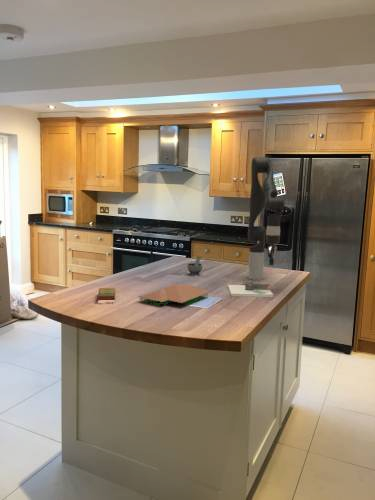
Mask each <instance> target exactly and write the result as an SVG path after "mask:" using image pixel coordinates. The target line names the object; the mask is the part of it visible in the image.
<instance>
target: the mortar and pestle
mask: <svg viewBox="0 0 375 500" xmlns="http://www.w3.org/2000/svg"><path fill="white" fill-rule="evenodd" d="M201 258H202V257H201V256H200V255H197V256H196V259H195V262H190V263H186V264H187V270H188V272H189V276H191V275H199V276H200V272H201V271H202V270H203V264H202V263H200V262H201V261H200V260H201Z"/></svg>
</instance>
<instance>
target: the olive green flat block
mask: <svg viewBox="0 0 375 500" xmlns="http://www.w3.org/2000/svg"><path fill="white" fill-rule="evenodd" d="M98 300H116V287H99V289H98V294H97V301H98Z"/></svg>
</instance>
